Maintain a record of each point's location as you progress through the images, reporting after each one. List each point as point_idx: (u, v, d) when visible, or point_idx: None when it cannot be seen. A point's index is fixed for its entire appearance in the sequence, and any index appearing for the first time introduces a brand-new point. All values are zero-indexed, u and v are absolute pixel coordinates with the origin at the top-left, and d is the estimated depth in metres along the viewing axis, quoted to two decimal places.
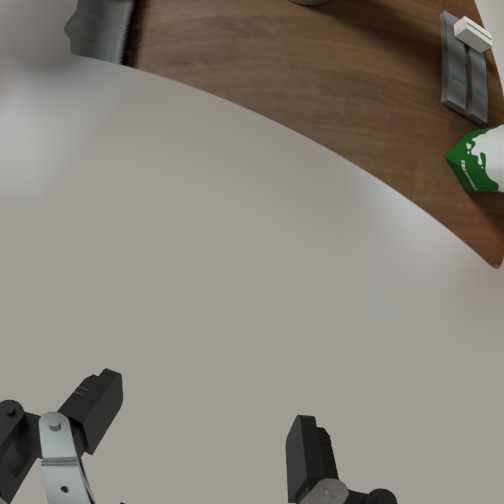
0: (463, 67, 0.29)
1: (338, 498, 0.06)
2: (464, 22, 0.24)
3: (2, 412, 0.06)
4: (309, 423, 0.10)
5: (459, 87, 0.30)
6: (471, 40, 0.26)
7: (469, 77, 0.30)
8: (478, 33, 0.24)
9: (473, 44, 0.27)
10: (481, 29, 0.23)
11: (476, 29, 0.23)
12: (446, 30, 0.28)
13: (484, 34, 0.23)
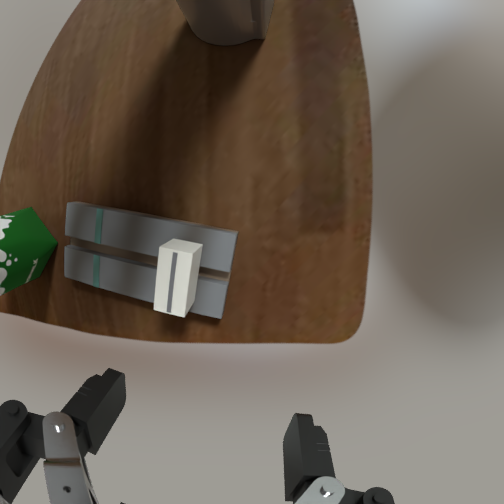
0: (121, 244, 0.29)
1: (334, 496, 0.06)
2: (178, 249, 0.24)
3: (5, 412, 0.06)
4: (306, 421, 0.10)
5: (87, 227, 0.28)
6: None
7: (117, 257, 0.30)
8: (164, 278, 0.25)
9: None
10: (181, 292, 0.25)
11: (171, 276, 0.24)
12: (184, 224, 0.28)
13: (169, 295, 0.25)
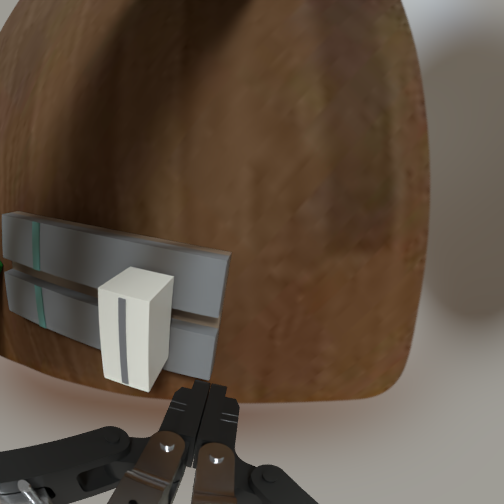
0: (64, 272, 0.18)
1: (221, 463, 0.07)
2: (128, 291, 0.14)
3: (102, 436, 0.07)
4: (218, 391, 0.11)
5: (24, 248, 0.18)
6: None
7: (63, 289, 0.19)
8: (111, 336, 0.14)
9: None
10: (138, 359, 0.14)
11: (121, 335, 0.14)
12: (145, 244, 0.17)
13: (123, 362, 0.14)
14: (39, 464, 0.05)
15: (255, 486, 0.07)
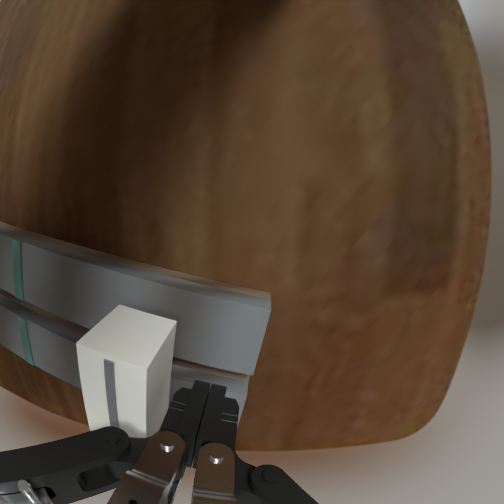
0: (53, 306, 0.14)
1: (220, 463, 0.07)
2: (117, 350, 0.09)
3: (102, 436, 0.07)
4: (218, 391, 0.11)
5: (4, 270, 0.13)
6: None
7: (52, 324, 0.15)
8: (97, 400, 0.10)
9: None
10: (134, 428, 0.10)
11: (110, 401, 0.10)
12: (159, 282, 0.13)
13: None
14: (39, 464, 0.05)
15: (255, 486, 0.07)
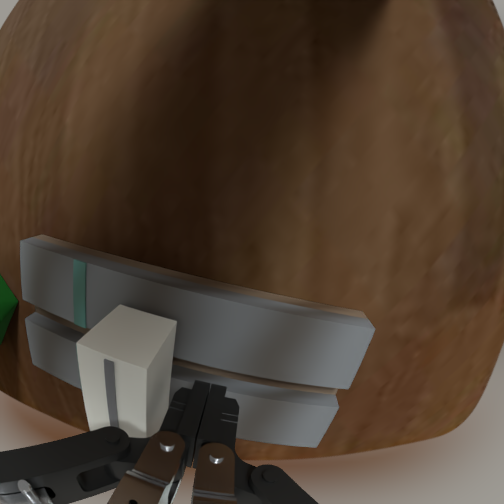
0: None
1: (220, 463, 0.07)
2: (117, 349, 0.09)
3: (102, 436, 0.07)
4: (218, 391, 0.11)
5: (58, 293, 0.13)
6: None
7: None
8: (97, 400, 0.10)
9: None
10: (134, 428, 0.10)
11: (110, 400, 0.10)
12: (271, 308, 0.13)
13: None
14: (39, 464, 0.05)
15: (255, 486, 0.07)
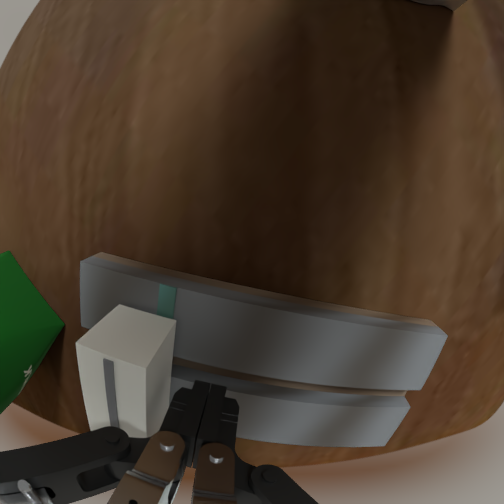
0: (223, 360, 0.14)
1: (221, 463, 0.07)
2: (116, 349, 0.09)
3: (102, 436, 0.07)
4: (218, 391, 0.11)
5: None
6: None
7: (205, 376, 0.15)
8: (97, 400, 0.10)
9: None
10: (134, 427, 0.10)
11: (110, 400, 0.10)
12: (370, 324, 0.13)
13: None
14: (39, 464, 0.05)
15: (255, 486, 0.07)
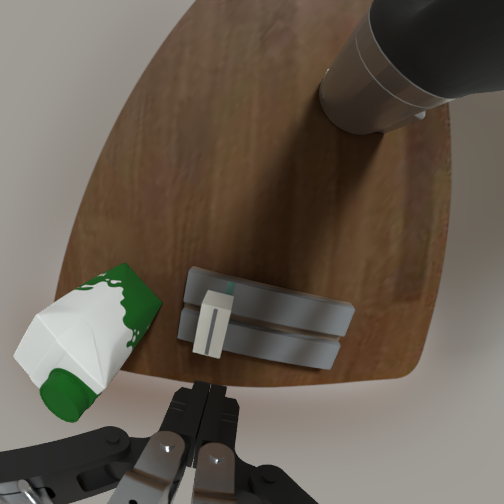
0: (252, 314, 0.33)
1: (221, 463, 0.07)
2: (218, 305, 0.29)
3: (102, 436, 0.07)
4: (218, 391, 0.11)
5: None
6: None
7: (242, 323, 0.34)
8: (204, 328, 0.29)
9: None
10: (218, 340, 0.29)
11: (211, 327, 0.29)
12: (314, 300, 0.33)
13: (208, 342, 0.29)
14: (39, 464, 0.05)
15: (255, 486, 0.07)
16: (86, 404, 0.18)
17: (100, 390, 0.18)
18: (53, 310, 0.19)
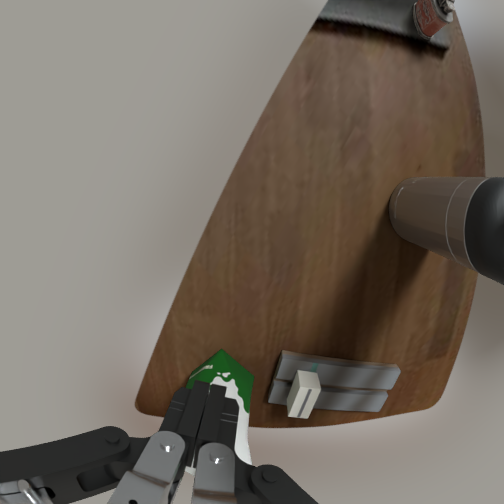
0: (328, 382, 0.40)
1: (221, 463, 0.07)
2: (310, 385, 0.36)
3: (102, 436, 0.07)
4: (218, 391, 0.11)
5: None
6: (293, 390, 0.38)
7: None
8: (299, 401, 0.36)
9: (291, 392, 0.39)
10: (309, 407, 0.36)
11: (304, 400, 0.36)
12: (373, 368, 0.39)
13: (301, 409, 0.36)
14: (39, 464, 0.05)
15: (255, 486, 0.07)
16: None
17: None
18: None
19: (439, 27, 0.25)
